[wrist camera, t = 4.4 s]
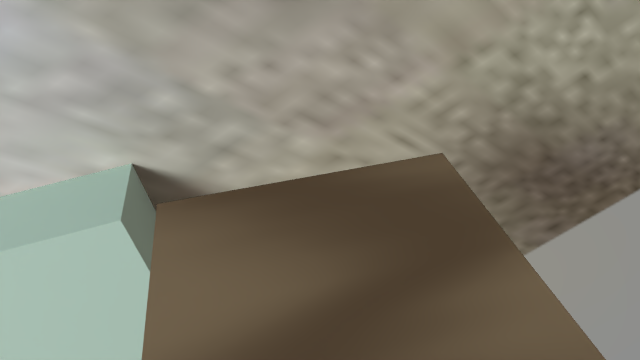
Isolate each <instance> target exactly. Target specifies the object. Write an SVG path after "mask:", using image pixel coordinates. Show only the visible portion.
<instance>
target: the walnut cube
mask: <svg viewBox="0 0 640 360" xmlns="http://www.w3.org/2000/svg"><path fill="white" fill-rule="evenodd" d="M142 360H606V359H605V358H604V357H603V356H602V354H601V353H600V352H599V351H598V349H597V348H596V347H595V345H594V344H593V343H592V342H591V340H590V339H589V338H588V337H587V335H586V334H585V333H584V332H583V330H582V329H581V328H580V327H579V325H578V324H577V323H576V322H575V320H574V319H573V318H572V316H571V315H570V314H569V313H568V311H567V310H566V309H565V308H564V306H563V305H562V304H561V303H560V301H559V300H558V299H557V298H556V296H555V295H554V294H553V292H552V291H551V290H550V289H549V287H548V286H547V285H546V284H545V282H544V281H543V280H542V279H541V277H540V276H539V275H538V273H537V272H536V271H535V270H534V268H533V267H532V266H531V265H530V263H529V262H528V261H527V260H526V258H525V257H524V256H523V254H522V253H521V252H520V251H519V249H518V248H517V247H516V246H515V244H514V243H513V242H512V241H511V239H510V238H509V237H508V235H507V234H506V233H505V232H504V230H503V229H502V228H501V227H500V225H499V224H498V223H497V222H496V220H495V219H494V218H493V217H492V215H491V214H490V213H489V211H488V210H487V209H486V208H485V206H484V205H483V204H482V203H481V201H480V200H479V199H478V198H477V196H476V195H475V194H474V192H473V191H472V190H471V189H470V187H469V186H468V185H467V184H466V182H465V181H464V180H463V179H462V177H461V176H460V175H459V174H458V172H457V171H456V170H455V168H454V167H453V166H452V165H451V163H450V162H449V161H448V160H447V158H446V157H445V156H444V155H443V153H440V154H434V155H429V156H423V157H417V158H412V159H406V160H400V161H395V162H389V163H384V164H378V165H372V166H367V167H361V168H356V169H350V170H344V171H339V172H333V173H328V174H322V175H316V176H311V177H305V178H300V179H294V180H288V181H283V182H277V183H271V184H266V185H260V186H255V187H249V188H243V189H238V190H232V191H227V192H221V193H215V194H210V195H204V196H199V197H193V198H187V199H182V200H176V201H171V202H165V203H159V204H157V208H156V219H155V229H154V239H153V249H152V259H151V269H150V279H149V289H148V299H147V310H146V320H145V330H144V340H143V350H142Z"/></svg>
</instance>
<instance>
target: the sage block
mask: <svg viewBox="0 0 640 360" xmlns="http://www.w3.org/2000/svg"><path fill="white" fill-rule="evenodd" d="M155 219H156V211H155V209H154V207H153V205H152V203H151V201H150V199H149V197H148V195H147V193H146V191H145V189H144V187H143V185H142V183H141V181H140V179H139V177H138V175H137V173H136V171H135V169H134V167H133V165H132V164H128V165H124V166H120V167H116V168H112V169H108V170H104V171H101V172H97V173H93V174H89V175H85V176H81V177H77V178H73V179H69V180H65V181H61V182H57V183H53V184H49V185H45V186H41V187H37V188H34V189H30V190H26V191H22V192H18V193H14V194H10V195H6V196H2V197H0V360H142V350H143V340H144V330H145V320H146V310H147V299H148V289H149V279H150V269H151V259H152V249H153V239H154V229H155Z"/></svg>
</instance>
